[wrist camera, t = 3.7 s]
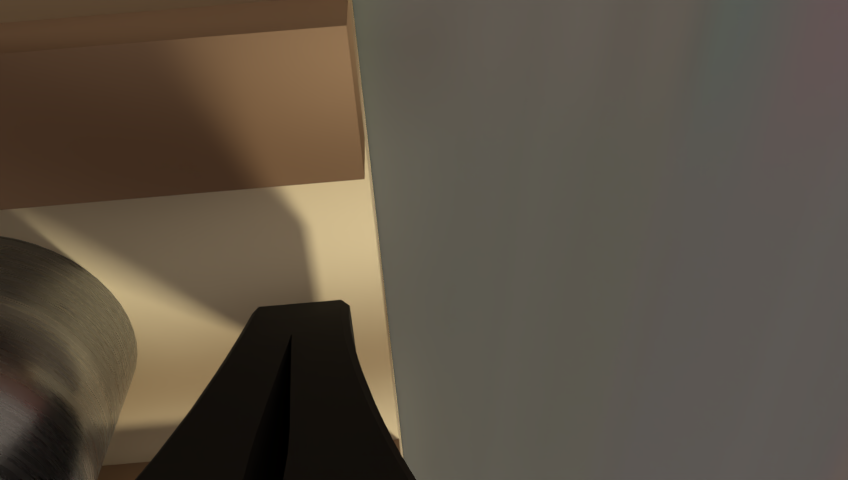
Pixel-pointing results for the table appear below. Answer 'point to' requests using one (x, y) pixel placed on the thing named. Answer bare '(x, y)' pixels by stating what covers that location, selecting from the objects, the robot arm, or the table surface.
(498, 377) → the table surface
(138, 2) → the slot board
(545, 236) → the table surface
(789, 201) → the table surface
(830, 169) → the table surface
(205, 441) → the robot arm
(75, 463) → the puck
